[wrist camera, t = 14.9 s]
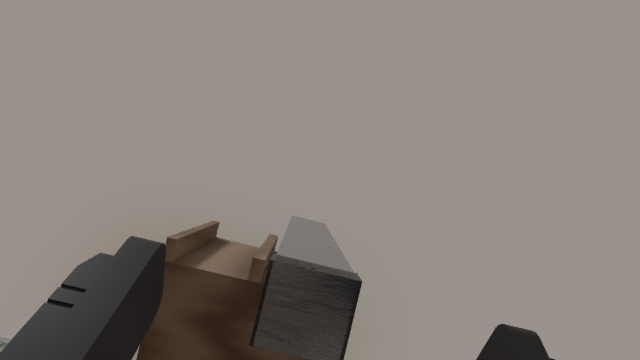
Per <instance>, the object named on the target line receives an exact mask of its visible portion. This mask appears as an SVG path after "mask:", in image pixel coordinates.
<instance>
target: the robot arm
mask: <svg viewBox="0 0 640 360" xmlns="http://www.w3.org/2000/svg"><path fill="white" fill-rule="evenodd" d="M165 255H166V246H165V244H164V243H160V242H155V241H151V240H147V239H143V238H138V237H134V236H131V237H129V238H128V239H127V240H126V242H125V243H124V244H123V245H122V246H121V248H120V249H119V250H118V251H117V253H116V254H115V255H114V256H112V255H108V254H103V253H99V254H98V255H96V256H94V257H93V258H90V259H89V260H87V261H85V262H83V263H82V264H80V265H78V266H77V267H76V268H75V269H74V270H73V272H72V273H71V274H70V275H69V276H68V277H67V278H66V279H65V281H64V282H63V283H62V285H61V287H58V289H56V291H55V292H54V293H53V294H52V295H51V296H50V297H49V298H48V301H47V303H44V304H43V305H42V306H41V307H40V309H39V310H38V311H37V312H36V313H35V314H34V315H33V316H32V317H31V318H30V320H29V321H28V322H27V323H26V324H25V325H24V326H23V327H22V328H21V330H20V331H19V332H18V333H17V334H16V335H15V336H14V337H13V339H12V340H11V341H10V342H9V343H8V344H7V345H6V346H5V347H4V349H3V350H2V351H1V352H0V360H131V359H132V358H133V356H134V354H135V352H136V350H137V349H138V347H139V345H140V343H141V342H142V340H143V338H144V336H145V334H146V333H147V331H148V329H149V327H150V325H151V324H152V322H153V320H154V318H155V316H156V314H157V311H158V309H159V306H160V303H161V299H162V294H163V283H164V269H165ZM476 360H555V359H551V358H549V357H548V354H547V352H546V350H545V348H544V346H543V344H542V342H541V340H540V338H539V336H538V335H537V333H535V332H533V331H531V330H526V329H522V328H518V327H514V326H509V325H505V324H501V325H498V326H497V327H496V328H495V330H494V331H493V333H492V335H491V336H490V338H489V340H488V341H487V343H486V344H485V346H484V348H483V349H482V351H481V353H480V354H479V356H478V358H477V359H476Z"/></svg>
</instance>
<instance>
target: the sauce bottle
mask: <svg viewBox="0 0 640 360" xmlns="http://www.w3.org/2000/svg"><path fill="white" fill-rule="evenodd" d="M10 341H11V340H9V339H6V338H1V337H0V352H1V351H2V350H3V349H4V347H5V346H6V345H7V344H8V343H9V342H10Z"/></svg>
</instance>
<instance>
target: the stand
mask: <svg viewBox="0 0 640 360" xmlns="http://www.w3.org/2000/svg"><path fill="white" fill-rule="evenodd" d="M218 226H219V222H217V221H211V222H209V223H206V224H203V225H200V226H197V227H195V228H192V229H189V230H186V231H183V232H181V233H178V234H175V235H172V236H170V237H167V241H166V245H165V246H166V255H165V269H164V283H163V294H162V299H161V303H160V306H159V309H158V311H157V314H156V316H155V318H154V320H153V322H152V324H151V325H150V327H149V329H148V331H147V333H146V334H145V336H144V338H143V340H142V342H141V343H140V347H139V351H138V355H137V359H136V360H310V359H305V358H301V357H297V356H292V355H288V354H284V353H279V352H275V351H271V350H266V349H262V348H258V347H253V346H249V344H250V340H251V336H252V332H253V328H254V324H255V320H256V315H257V311H258V307H259V303H260V299H261V295H262V291H263V287H264V283H265V279H266V275H267V271H268V267H269V263H270V259H271V257H272V255H273V254H277V252H275V251H274V250H275V246H276V242H277V238H278V236H275V235H269V236H268V238H267V239H266V240H265V242H264V243H263V244H262V246H261V247H260V248H258V247H254V246H250V245H246V244H242V243H238V242H233V241H229V240H224V239H221V238H217V237H216V234H217V230H218Z"/></svg>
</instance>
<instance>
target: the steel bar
mask: <svg viewBox="0 0 640 360" xmlns="http://www.w3.org/2000/svg"><path fill="white" fill-rule="evenodd" d="M361 284H362V280H361V279H360V277H359V276H358V274H357V273H354V272H353V270H352V269H351V267H350V265H349V264H348V262H347V260H346V259H345V257H344V255H343V254H342V252H341V250H340V249H339V247H338V245H337V244H336V242H335V240H334V239H333V237H332V235H331V234H330V232H329V230H328V229H327V227H326V225H325V224H324V223H320V222H316V221H312V220H307V219H303V218H299V217H295V216H292V218H291V220H290V223H289V225H288V228H287V230H286V232H285V235H284V237H283V240H282V242H281V245H280V247H279V250H278V252H277V254H273V255H272V257H271V259H270V263H269V267H268V271H267V275H266V279H265V283H264V287H263V291H262V295H261V299H260V303H259V307H258V311H257V315H256V320H255V324H254V328H253V332H252V336H251V340H250V344H249V346H253V347H258V348H262V349H266V350H271V351H275V352H279V353H284V354H288V355H292V356H297V357H301V358H305V359H310V360H343V359H344V355H345V351H346V347H347V343H348V339H349V335H350V330H351V326H352V322H353V318H354V313H355V309H356V305H357V301H358V297H359V293H360V288H361Z"/></svg>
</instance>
